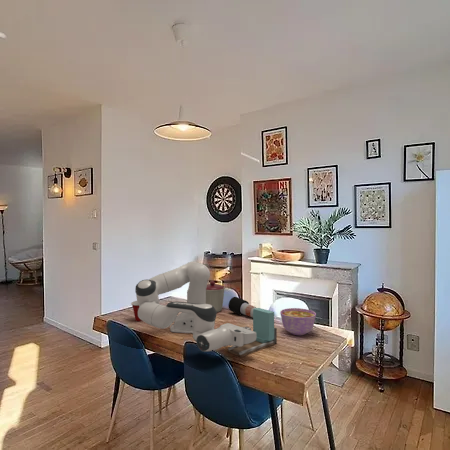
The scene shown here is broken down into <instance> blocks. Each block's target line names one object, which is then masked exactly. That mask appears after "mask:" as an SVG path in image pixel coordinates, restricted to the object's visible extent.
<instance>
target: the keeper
mask: <svg viewBox="0 0 450 450" xmlns="http://www.w3.org/2000/svg"><path fill="white" fill-rule="evenodd" d="M274 328H275V311H272V310H270V309H269V310H268V309H265V308H261V307H256V308H255V309H253V318H252V331H254V332H256V341H258V342H261V343H266V342H269V341H271V340H274Z"/></svg>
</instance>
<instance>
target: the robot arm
mask: <svg viewBox="0 0 450 450" xmlns="http://www.w3.org/2000/svg"><path fill="white" fill-rule="evenodd" d="M210 278H211V272H210V269H209V268H208V267H207V265H205V264H203V263H201V262H198V261H194V260H193V261H190V262H187V263H185V264H182V265H180V266H179V267H176V268H173V269H172V270H169V271H165V272H162V273H159V274H157V275H155V276H152V277H151V278H149V279H142V280H140V281H139V282H138V283H137V284H136V285H135V294H136V295H135V296H136V301H137V302H138V304H139V309H138V317H139V318H140V319H141V320H142V321H141V322H144V323H145V324H147V325H149V326H152V327H155V328H157V329H162V330H163V329H168V328H169V330H170V332H172V333H183V334H192V339H193V340H194V341H195V342H196V346H197V348H198V349H199V350H200V351H201V352H212V350H213V351H217V350H219V349H221V348H222V347H232V346H239V347H241V346H243V344H248V343H251V342H253V341H255V340H256V332H254V331H253V330H252V327H249V326H239V325H236V324H233V323H229V322H227V323H224V324H221V325H219V327H217V328H215V324H216V319H217V314H218V312H217V311H216V309H215V308H214V307H213V306H212V305H210V304H206V287H207V284H208V281H209V279H210ZM186 284H188V288H187V291H186V294H187V295H186V302H185V301H170V302H168V303H167V304H166V305H163V304H160V300H159V299H160V298H159V295H162V294H166V293H169V292H172V291H175V290H177V289H180V288H182V287H183V286H184V285H186Z"/></svg>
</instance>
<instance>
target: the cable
mask: <svg viewBox="0 0 450 450" xmlns="http://www.w3.org/2000/svg"><path fill="white" fill-rule="evenodd" d="M255 308H257V307H256V306H253V305H251V304H250V303H249V301H247V300H246V299H243V298H241V297H237V296H232V297H231V299H230V300H229V302H228V310H229V311H231V312H233V313H234V314H238V315H240V316H246V317H247V316H248V317H250V318H252V319H253V309H255Z"/></svg>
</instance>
